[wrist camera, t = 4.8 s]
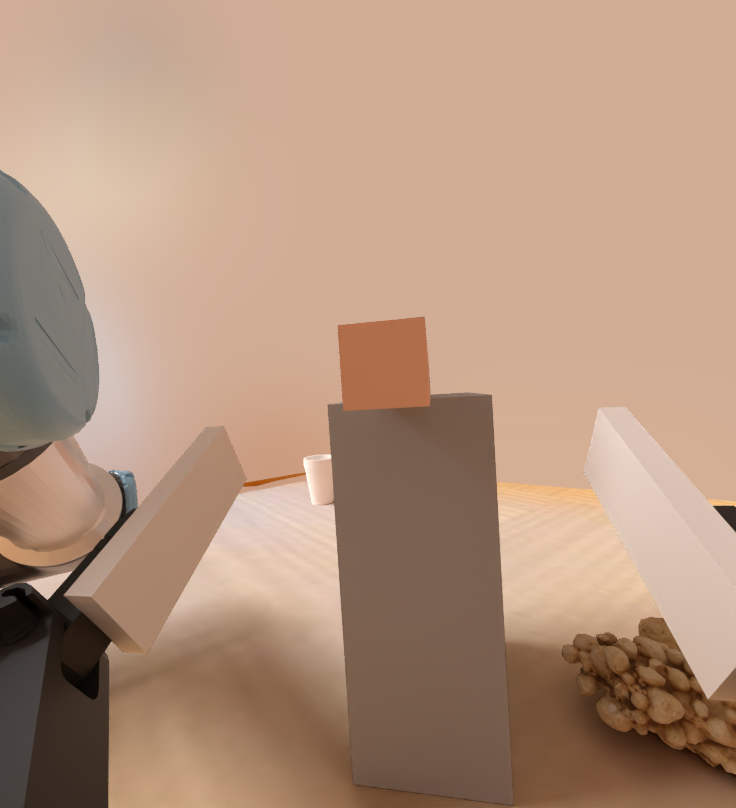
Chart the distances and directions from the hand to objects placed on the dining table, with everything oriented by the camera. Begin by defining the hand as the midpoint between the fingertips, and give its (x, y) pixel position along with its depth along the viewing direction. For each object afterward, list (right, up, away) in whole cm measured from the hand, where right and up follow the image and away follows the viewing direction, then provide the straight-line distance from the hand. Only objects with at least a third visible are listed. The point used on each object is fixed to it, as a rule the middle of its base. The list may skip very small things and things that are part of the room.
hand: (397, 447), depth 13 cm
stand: (+5, -28, +23) cm, 36 cm away
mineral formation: (+25, -27, +19) cm, 41 cm away
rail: (+2, +2, +15) cm, 15 cm away
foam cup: (-14, -27, +91) cm, 96 cm away
